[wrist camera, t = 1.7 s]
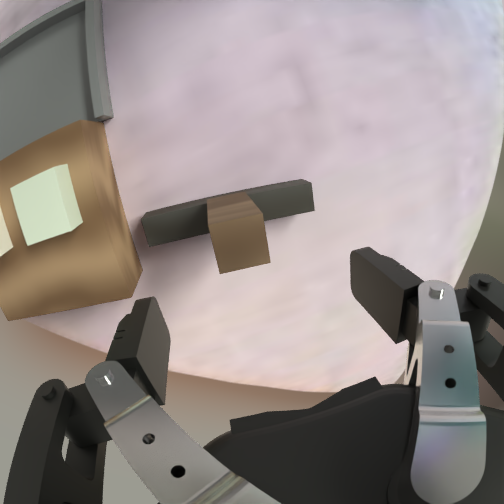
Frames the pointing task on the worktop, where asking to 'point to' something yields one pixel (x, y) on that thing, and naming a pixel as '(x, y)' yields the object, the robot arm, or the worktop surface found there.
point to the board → (73, 242)
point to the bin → (53, 75)
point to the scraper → (231, 221)
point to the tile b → (46, 204)
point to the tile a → (4, 236)
